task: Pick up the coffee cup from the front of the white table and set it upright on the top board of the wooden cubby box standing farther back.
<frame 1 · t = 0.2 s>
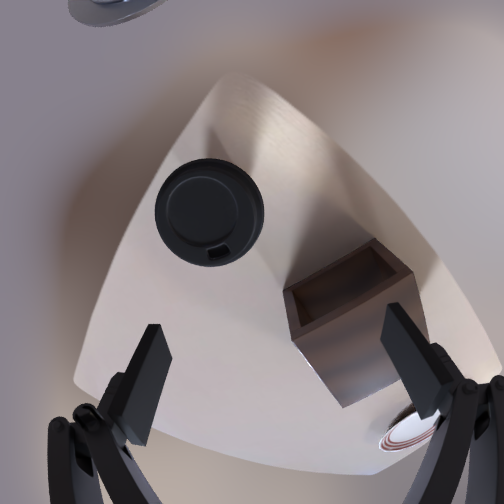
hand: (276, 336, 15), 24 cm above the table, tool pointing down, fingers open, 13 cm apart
wooden cubby box: (351, 307, 42), on the table
dinner plate: (416, 421, 59), on the table
coffee cup: (224, 189, 35), on the table
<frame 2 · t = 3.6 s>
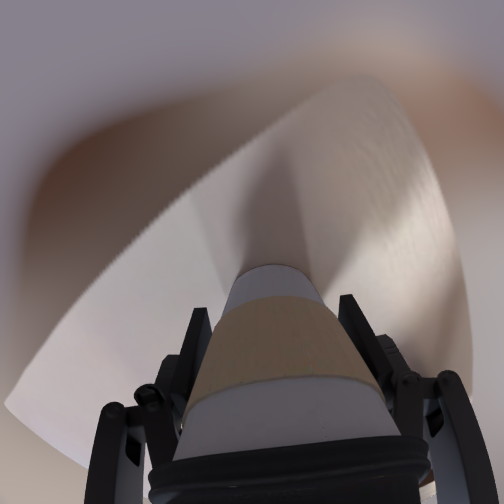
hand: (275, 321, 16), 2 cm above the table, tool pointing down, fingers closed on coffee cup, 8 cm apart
wooden cubby box: (366, 441, 27), on the table
coffee cup: (272, 300, 18), on the table, touching gripper
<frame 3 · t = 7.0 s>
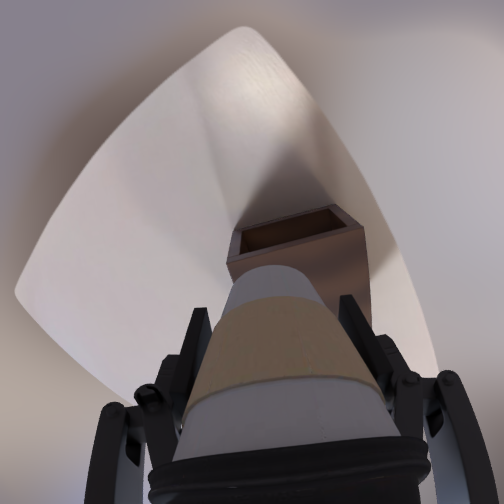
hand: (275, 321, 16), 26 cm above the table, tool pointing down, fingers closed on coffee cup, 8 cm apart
wooden cubby box: (297, 269, 44), on the table
coffee cup: (272, 300, 18), point 23 cm above the table, touching gripper
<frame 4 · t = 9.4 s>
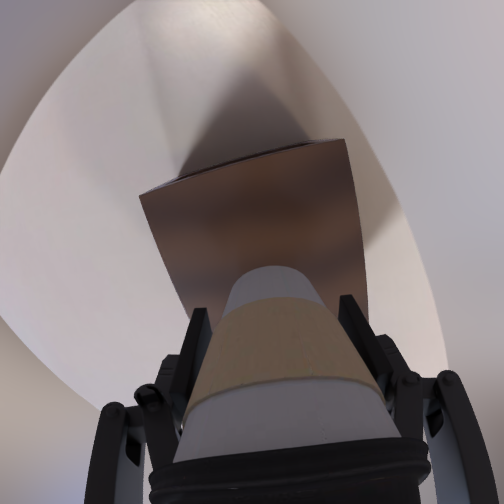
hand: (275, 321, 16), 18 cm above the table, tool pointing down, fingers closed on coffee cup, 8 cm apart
wooden cubby box: (263, 230, 33), on the table
coffee cup: (272, 300, 18), point 15 cm above the table, touching gripper
when the fingers open (14 cm above the table, at t = 10.9 s): coffee cup stays where it is, resting on wooden cubby box.
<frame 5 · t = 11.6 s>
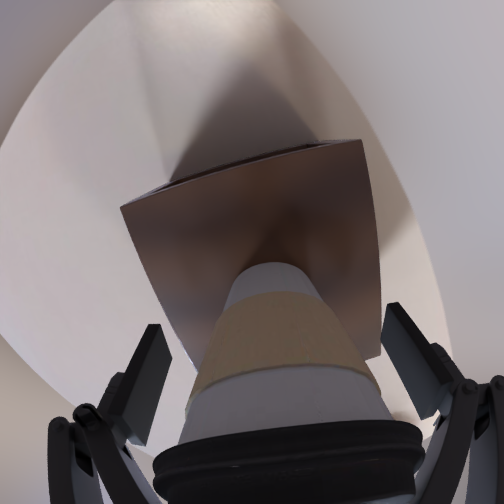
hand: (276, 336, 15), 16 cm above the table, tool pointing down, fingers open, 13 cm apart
wooden cubby box: (265, 241, 29), on the table
coffee cup: (271, 296, 19), point 11 cm above the table, touching wooden cubby box
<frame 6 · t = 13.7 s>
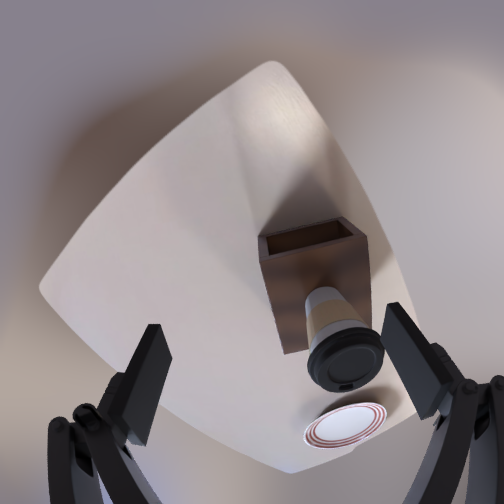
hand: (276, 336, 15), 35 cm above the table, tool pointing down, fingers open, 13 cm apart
wooden cubby box: (309, 270, 51), on the table
dinner plate: (344, 421, 71), on the table
coffee cup: (323, 301, 41), point 11 cm above the table, touching wooden cubby box
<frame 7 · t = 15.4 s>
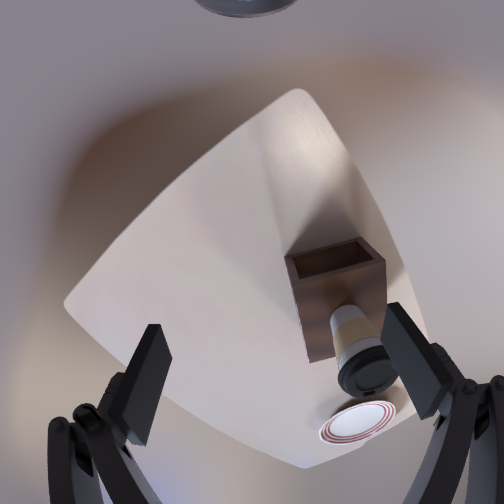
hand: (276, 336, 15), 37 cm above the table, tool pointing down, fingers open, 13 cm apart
wooden cubby box: (330, 285, 55), on the table
dinner plate: (356, 418, 76), on the table
coffee cup: (345, 317, 45), point 11 cm above the table, touching wooden cubby box
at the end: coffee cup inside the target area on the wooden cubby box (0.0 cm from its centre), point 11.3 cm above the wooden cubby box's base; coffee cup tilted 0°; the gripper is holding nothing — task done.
